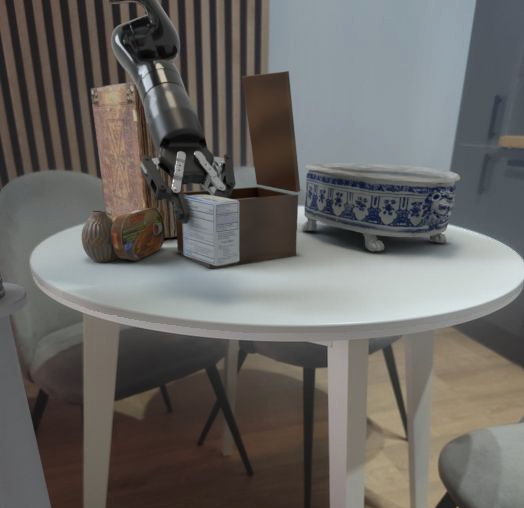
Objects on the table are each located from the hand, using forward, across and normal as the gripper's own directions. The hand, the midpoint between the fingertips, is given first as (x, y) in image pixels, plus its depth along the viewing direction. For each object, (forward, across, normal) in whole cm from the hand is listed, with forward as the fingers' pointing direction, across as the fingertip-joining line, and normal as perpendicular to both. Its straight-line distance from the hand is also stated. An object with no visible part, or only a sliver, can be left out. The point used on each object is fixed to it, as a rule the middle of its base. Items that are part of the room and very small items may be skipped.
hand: (206, 218), depth 70 cm
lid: (-22, +21, +7) cm, 31 cm away
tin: (-11, -3, +27) cm, 30 cm away
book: (-27, +4, +43) cm, 51 cm away
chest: (-6, +14, +22) cm, 27 cm away
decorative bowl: (-7, +48, +23) cm, 54 cm away
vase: (-11, -10, +27) cm, 31 cm away
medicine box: (+5, 0, +4) cm, 6 cm away
